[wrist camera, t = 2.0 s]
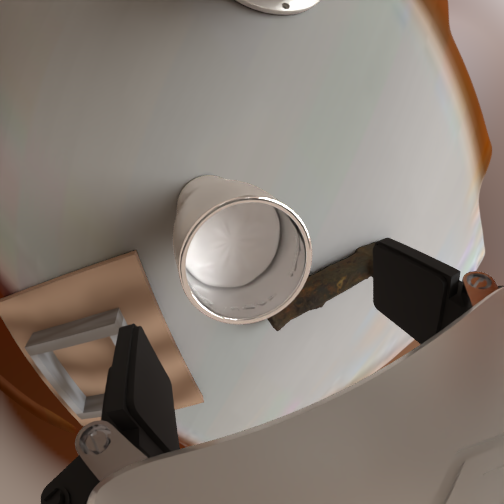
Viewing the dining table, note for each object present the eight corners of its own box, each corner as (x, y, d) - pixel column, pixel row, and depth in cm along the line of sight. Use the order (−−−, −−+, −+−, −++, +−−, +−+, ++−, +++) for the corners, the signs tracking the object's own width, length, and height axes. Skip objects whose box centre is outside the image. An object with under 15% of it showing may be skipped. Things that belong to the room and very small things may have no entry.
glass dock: (-2, 299, 23) (-17, 317, 19) (136, 250, 26) (131, 266, 22) (83, 419, 31) (80, 440, 28) (202, 395, 35) (207, 418, 31)
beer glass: (163, 231, 26) (158, 314, 13) (185, 160, 25) (201, 168, 11) (230, 248, 29) (285, 336, 15) (253, 183, 27) (336, 217, 14)
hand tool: (264, 318, 33) (278, 341, 29) (254, 291, 32) (268, 313, 28) (389, 256, 36) (411, 269, 32) (387, 230, 34) (411, 241, 30)
